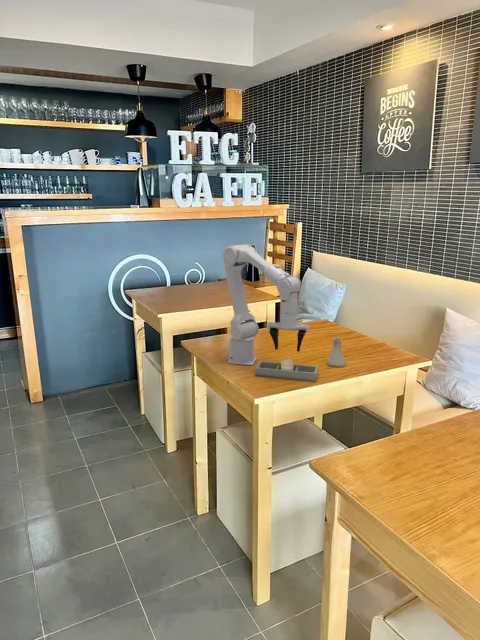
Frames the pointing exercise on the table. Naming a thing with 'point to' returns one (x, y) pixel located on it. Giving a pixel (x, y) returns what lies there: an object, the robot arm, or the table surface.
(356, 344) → the table surface
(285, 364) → the beige domed cylinder
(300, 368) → the gray compartment tray
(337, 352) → the flask
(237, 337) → the robot arm
